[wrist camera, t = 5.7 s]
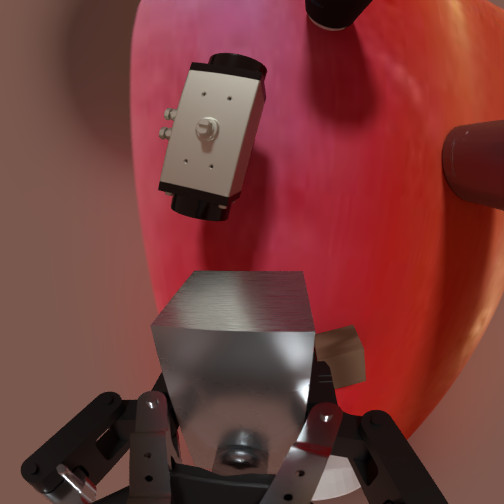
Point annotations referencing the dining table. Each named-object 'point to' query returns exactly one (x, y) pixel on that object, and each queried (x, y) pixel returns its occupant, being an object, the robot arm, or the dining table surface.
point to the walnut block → (342, 355)
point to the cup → (336, 479)
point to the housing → (238, 366)
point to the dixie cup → (334, 12)
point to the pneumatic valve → (212, 135)
